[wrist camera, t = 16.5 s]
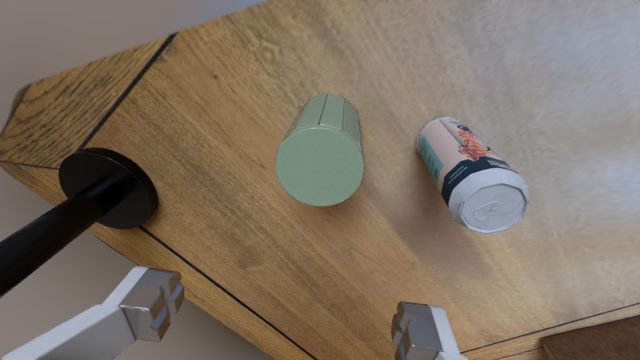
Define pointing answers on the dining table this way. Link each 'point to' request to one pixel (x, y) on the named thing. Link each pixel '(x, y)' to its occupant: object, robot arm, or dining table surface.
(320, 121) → the green fluted cylinder
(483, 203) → the beer can
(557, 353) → the bread
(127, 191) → the holder
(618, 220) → the dining table surface
